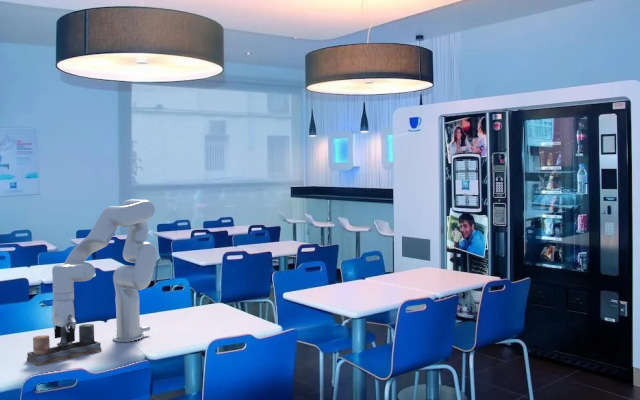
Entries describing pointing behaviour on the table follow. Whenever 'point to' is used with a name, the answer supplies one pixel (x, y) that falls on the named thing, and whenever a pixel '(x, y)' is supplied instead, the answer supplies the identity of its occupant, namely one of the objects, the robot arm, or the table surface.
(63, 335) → the salt shaker
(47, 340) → the condiment rail
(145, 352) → the table surface
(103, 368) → the table surface
